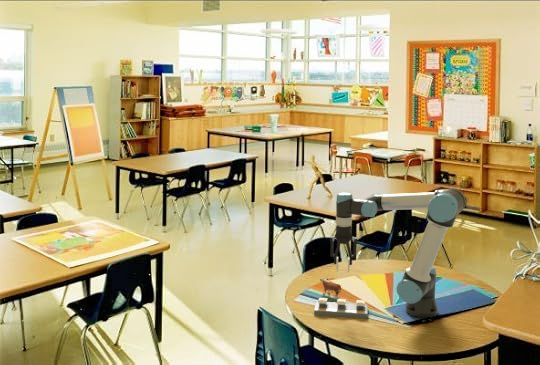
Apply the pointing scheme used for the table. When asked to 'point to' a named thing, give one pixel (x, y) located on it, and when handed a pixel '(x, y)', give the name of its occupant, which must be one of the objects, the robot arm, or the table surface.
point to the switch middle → (341, 301)
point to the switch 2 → (360, 302)
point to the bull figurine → (331, 286)
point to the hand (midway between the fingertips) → (342, 270)
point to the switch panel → (341, 310)
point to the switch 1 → (323, 300)
